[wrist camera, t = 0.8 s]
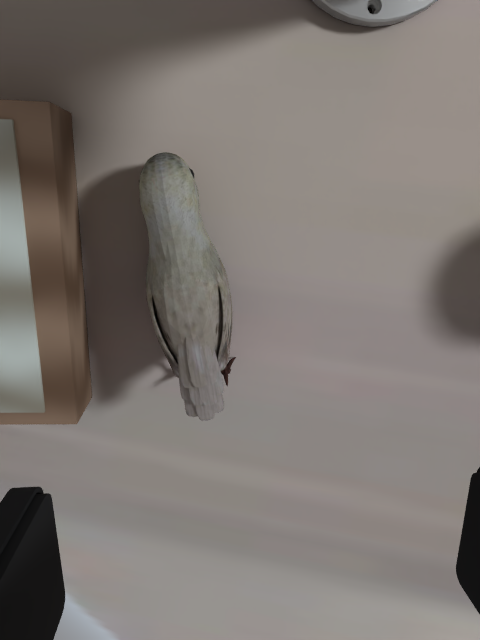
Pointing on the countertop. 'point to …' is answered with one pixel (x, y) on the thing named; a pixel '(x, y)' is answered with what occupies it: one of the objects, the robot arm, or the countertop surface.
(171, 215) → the decorative bird
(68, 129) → the walnut plinth
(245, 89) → the countertop surface
